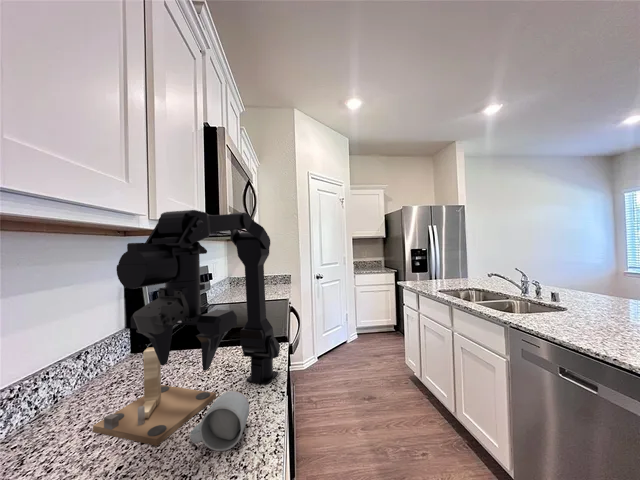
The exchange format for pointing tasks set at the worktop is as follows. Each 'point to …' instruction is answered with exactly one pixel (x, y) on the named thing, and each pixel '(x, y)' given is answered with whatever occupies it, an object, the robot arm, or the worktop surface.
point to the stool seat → (155, 416)
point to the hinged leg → (151, 381)
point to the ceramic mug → (223, 422)
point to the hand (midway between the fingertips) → (184, 367)
